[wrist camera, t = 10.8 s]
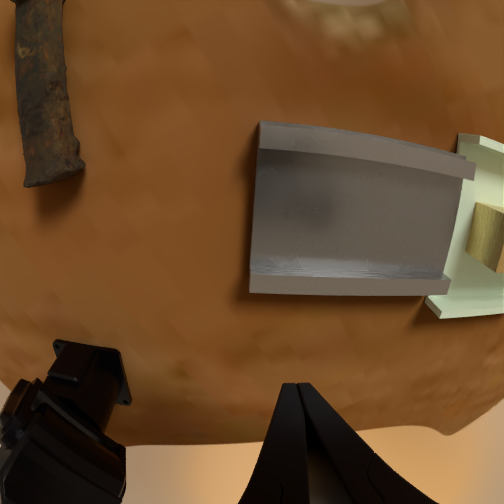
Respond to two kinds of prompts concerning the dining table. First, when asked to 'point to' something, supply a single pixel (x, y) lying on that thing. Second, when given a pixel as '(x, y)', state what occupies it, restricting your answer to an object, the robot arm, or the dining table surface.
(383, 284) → the slot rail
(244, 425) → the dining table surface
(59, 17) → the wooden stick
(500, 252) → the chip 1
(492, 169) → the tray
